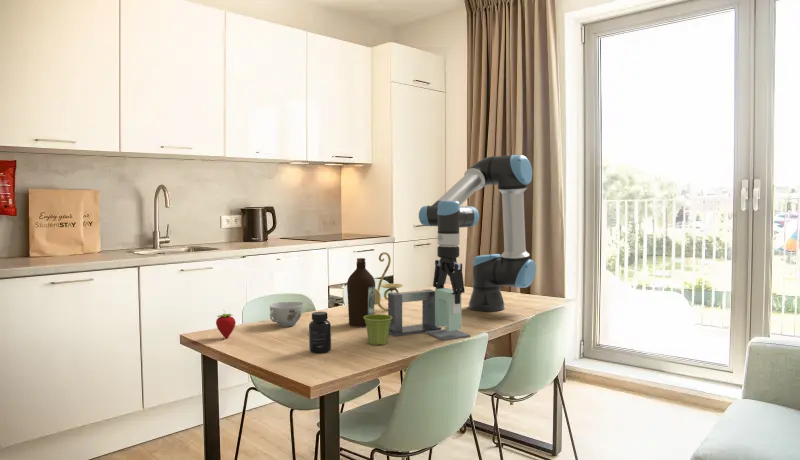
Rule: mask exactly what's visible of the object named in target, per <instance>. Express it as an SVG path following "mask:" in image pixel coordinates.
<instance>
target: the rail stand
mask: <svg viewBox="0 0 800 460" xmlns="http://www.w3.org/2000/svg"><path fill="white" fill-rule="evenodd" d="M387 298H388V300H387V305H388V306H387V309H388V311H387V313H388V314H387V315H389V316H392V319H391V323H390V326H389V333H388V335H391V336H392V337H401V336H409V335H416V334H423V333H424V334H425V333H426V332H429V331H436V330H442V326H441V327H437V326H435V289H422V290H415V291H404V292H403V291H402V292H399V293H397V292H396V291H395V292H392V293H391V292H387ZM419 301H421V302H422V303H421V304H422V310H421V311H422V319H421V320H422V321H421V324H414V325H413V324H412V325H403V303H411V302H419Z"/></svg>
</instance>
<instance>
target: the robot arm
mask: <svg viewBox="0 0 800 460" xmlns="http://www.w3.org/2000/svg"><path fill="white" fill-rule="evenodd" d="M532 178H533V168H532V165H531V161H529V159H528V158H527V156H525V155H523V154H521V155H520V154H511V155H499V156H497V155H495V156H487V157H485V158H483V159H481V160H479V161H477V162H476V163H474V164H473V165H471V166H470V167H469V168H467V170H465V171H464V175H463V176H462V177H461V178H460V179H459V180H458V181H457V182H456V183H454V185H453V186H451V188H449V189H448V190H446V192H445V193H444V194H442V196H440V198H438V199H437V200H436V201H435V202H434V203H433V204H432V205H428V204H427V205H423V206H421V207H420V209H419V211H418V219H419V223H420V224H421V225H423V226H424V227H425V226H426V227H428V226H429V227H437V245H438V246H437V249H436V250H437V255H436V256H437V257H438V258H440V259H436V260H435V261H434V265H435V266H434V276H433V282H432V286H433V288H435V289H441V288H445V287H444V286H445V284H446V279H447V276H448V277H449V280H450V284H451V289H453V293H452V313H453V314H454V313H460V294H461V295H462V294H464V293H465V283H464V276H463V263H458V262H457V258H459V257H460V246H459V245H460V243H461V242H460V228H471V227H475V226H477V224H478V223H479V220H480V213H479V211H478V209H477V208H476V207H474V206H473V205H472V206H470V205H465V206H464V205H463V204H464V203H465V202H466V201H467V200H468V198H470V197H471V196H472V195H473V194H474V193H475V192H476V191H478V190H481V189H483V188H484V187H486V186H490V185H491V186H493V185H495V186H496V185H497V191H499V192H500V193H501V200H502V201H501V203H502V204H501V205H502V224H503V225H502V229H503V246H504V249H503V250H504V251H503V252H502V253H501V254H500V253H492V254H483V255H477V256H474V258H473V261H472V292H471V296H470V299H469V302H468V308H469V309H470V310H473V311H479V312H499V311H503V310H504V309H505V302H504V298H503V295H502V292H501V287H502V286H503V287H513V288H515V289H516V288H517V289H519V288H521V289H522V288H524V289H525V288H528V287H530V286H531V284H532V283H533V281H534V279H535V277H536V272H537V268H536V267H537V265H536V263H535V261H534V260H532V259H531V257H530V255H531V254H530V253H529V252H528V251H527V248H526V226H525V224H526V223H525V220H526V219H525V201H524V199H525V195H524V192H525V191H526V190H527V189H528V185H529V184H531V182H532V180H533V179H532Z"/></svg>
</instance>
